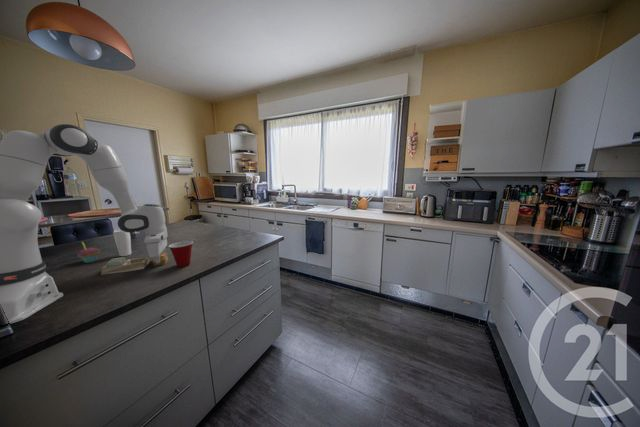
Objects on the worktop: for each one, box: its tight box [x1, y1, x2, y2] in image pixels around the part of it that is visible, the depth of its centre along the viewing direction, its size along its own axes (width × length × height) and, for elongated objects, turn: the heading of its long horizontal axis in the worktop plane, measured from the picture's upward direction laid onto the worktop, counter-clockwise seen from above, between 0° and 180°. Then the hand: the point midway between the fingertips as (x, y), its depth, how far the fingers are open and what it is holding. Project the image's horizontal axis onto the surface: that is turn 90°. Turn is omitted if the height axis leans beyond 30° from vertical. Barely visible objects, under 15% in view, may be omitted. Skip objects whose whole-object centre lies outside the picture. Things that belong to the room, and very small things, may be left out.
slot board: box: [100, 256, 151, 276], centre depth 106 cm, size 10×16×5 cm, turn 114°
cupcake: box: [76, 241, 101, 263], centre depth 113 cm, size 9×8×12 cm
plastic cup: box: [167, 240, 194, 268], centre depth 109 cm, size 11×11×12 cm
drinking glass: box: [112, 228, 132, 257], centre depth 121 cm, size 7×7×15 cm
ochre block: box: [152, 251, 169, 267], centre depth 111 cm, size 5×5×5 cm
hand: (160, 259), depth 112 cm, fingers open, 8 cm apart
